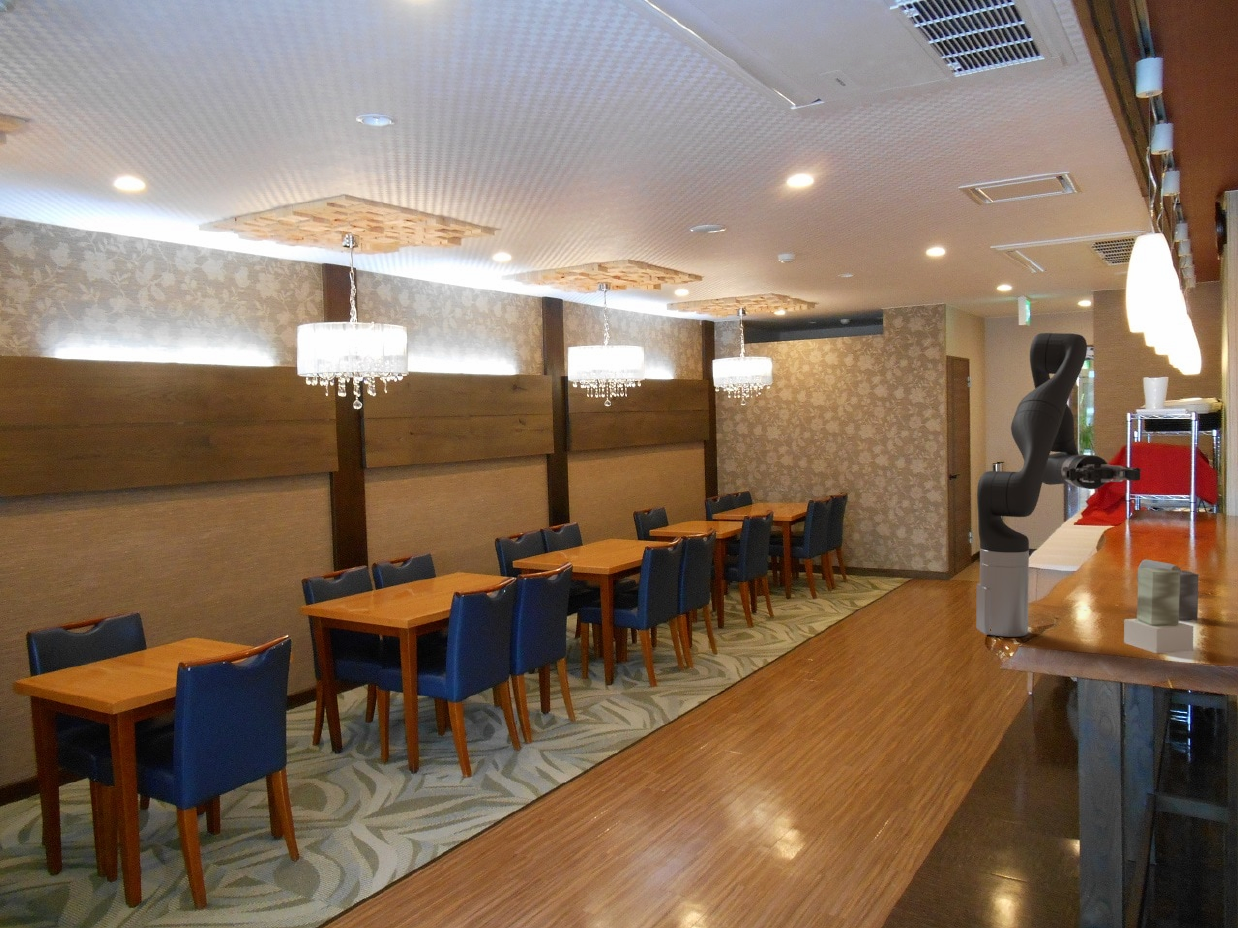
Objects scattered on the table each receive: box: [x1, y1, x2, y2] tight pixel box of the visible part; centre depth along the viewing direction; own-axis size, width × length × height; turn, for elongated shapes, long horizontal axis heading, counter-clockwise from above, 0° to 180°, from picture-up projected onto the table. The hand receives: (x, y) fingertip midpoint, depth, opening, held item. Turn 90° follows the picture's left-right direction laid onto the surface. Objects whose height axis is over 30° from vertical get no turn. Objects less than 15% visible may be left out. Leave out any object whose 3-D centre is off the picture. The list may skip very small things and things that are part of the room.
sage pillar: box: [1136, 567, 1180, 625], centre depth 169 cm, size 5×5×10 cm
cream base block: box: [1123, 618, 1194, 654], centre depth 169 cm, size 8×8×5 cm
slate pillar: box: [1173, 570, 1199, 621], centre depth 193 cm, size 5×5×10 cm
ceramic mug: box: [1136, 558, 1182, 583], centre depth 223 cm, size 11×8×8 cm
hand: (1114, 475), depth 184 cm, fingers open, 8 cm apart
